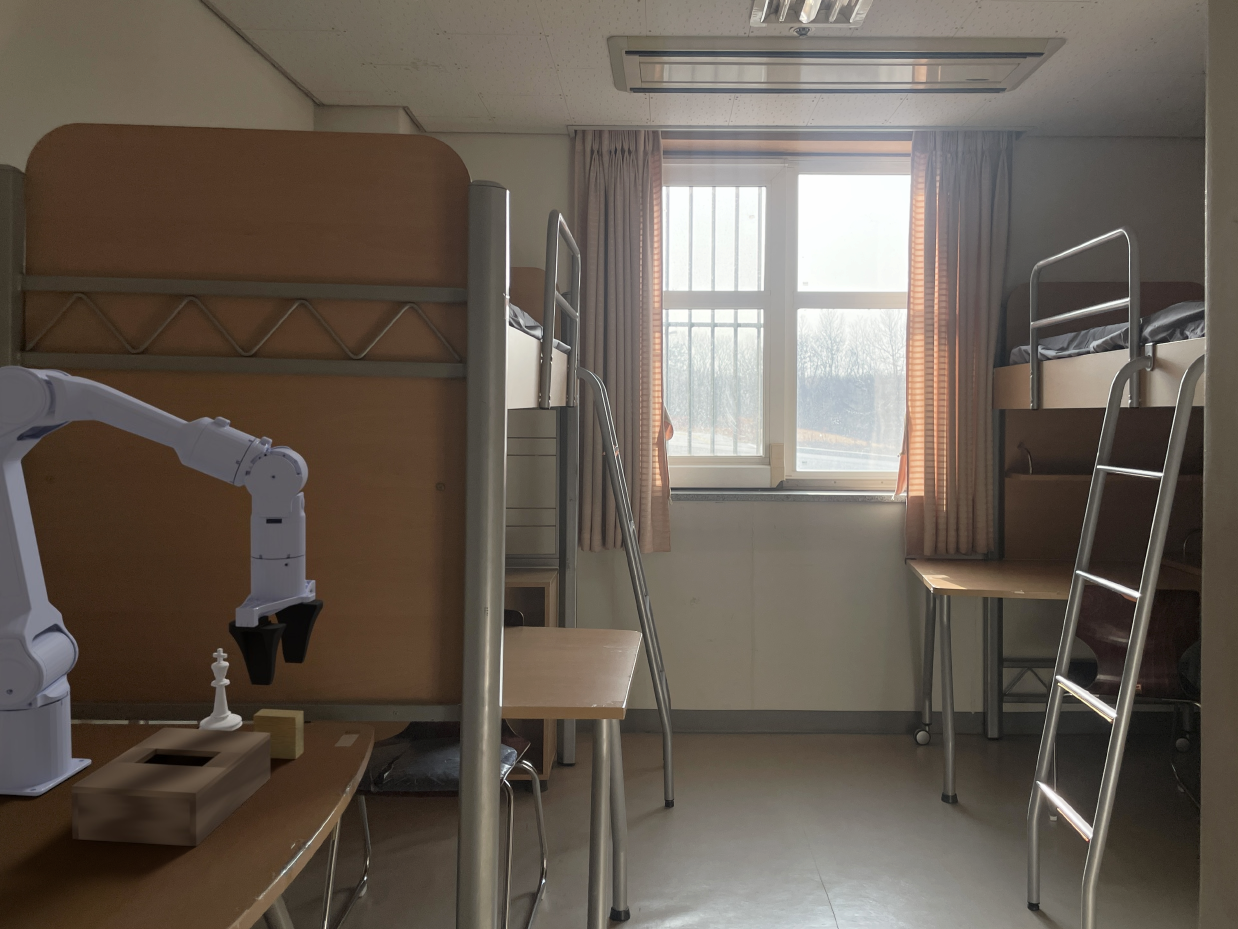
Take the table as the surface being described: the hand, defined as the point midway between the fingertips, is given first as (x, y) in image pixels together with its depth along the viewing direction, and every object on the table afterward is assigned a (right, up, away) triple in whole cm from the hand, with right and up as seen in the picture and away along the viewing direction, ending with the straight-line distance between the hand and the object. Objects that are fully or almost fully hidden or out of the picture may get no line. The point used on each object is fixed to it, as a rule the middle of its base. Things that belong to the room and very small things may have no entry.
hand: (278, 672), depth 93 cm
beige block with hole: (-6, -11, -10) cm, 16 cm away
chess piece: (-12, -10, +10) cm, 18 cm away
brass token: (-1, -10, +2) cm, 11 cm away
